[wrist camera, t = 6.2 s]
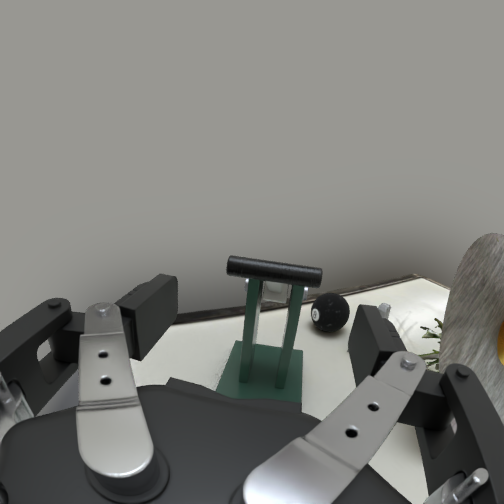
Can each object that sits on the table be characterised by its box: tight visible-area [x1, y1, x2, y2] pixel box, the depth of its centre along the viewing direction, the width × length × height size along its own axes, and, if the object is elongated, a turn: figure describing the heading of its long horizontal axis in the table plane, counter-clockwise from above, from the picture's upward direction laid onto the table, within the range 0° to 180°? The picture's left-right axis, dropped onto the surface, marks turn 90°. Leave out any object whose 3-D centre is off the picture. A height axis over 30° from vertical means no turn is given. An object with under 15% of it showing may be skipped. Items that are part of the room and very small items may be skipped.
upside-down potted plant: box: [418, 233, 504, 434], centre depth 25 cm, size 25×18×25 cm
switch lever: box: [226, 256, 322, 303], centre depth 22 cm, size 13×6×2 cm, turn 171°
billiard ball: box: [311, 293, 350, 332], centre depth 43 cm, size 6×6×6 cm
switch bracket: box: [215, 278, 308, 403], centre depth 29 cm, size 12×9×14 cm
